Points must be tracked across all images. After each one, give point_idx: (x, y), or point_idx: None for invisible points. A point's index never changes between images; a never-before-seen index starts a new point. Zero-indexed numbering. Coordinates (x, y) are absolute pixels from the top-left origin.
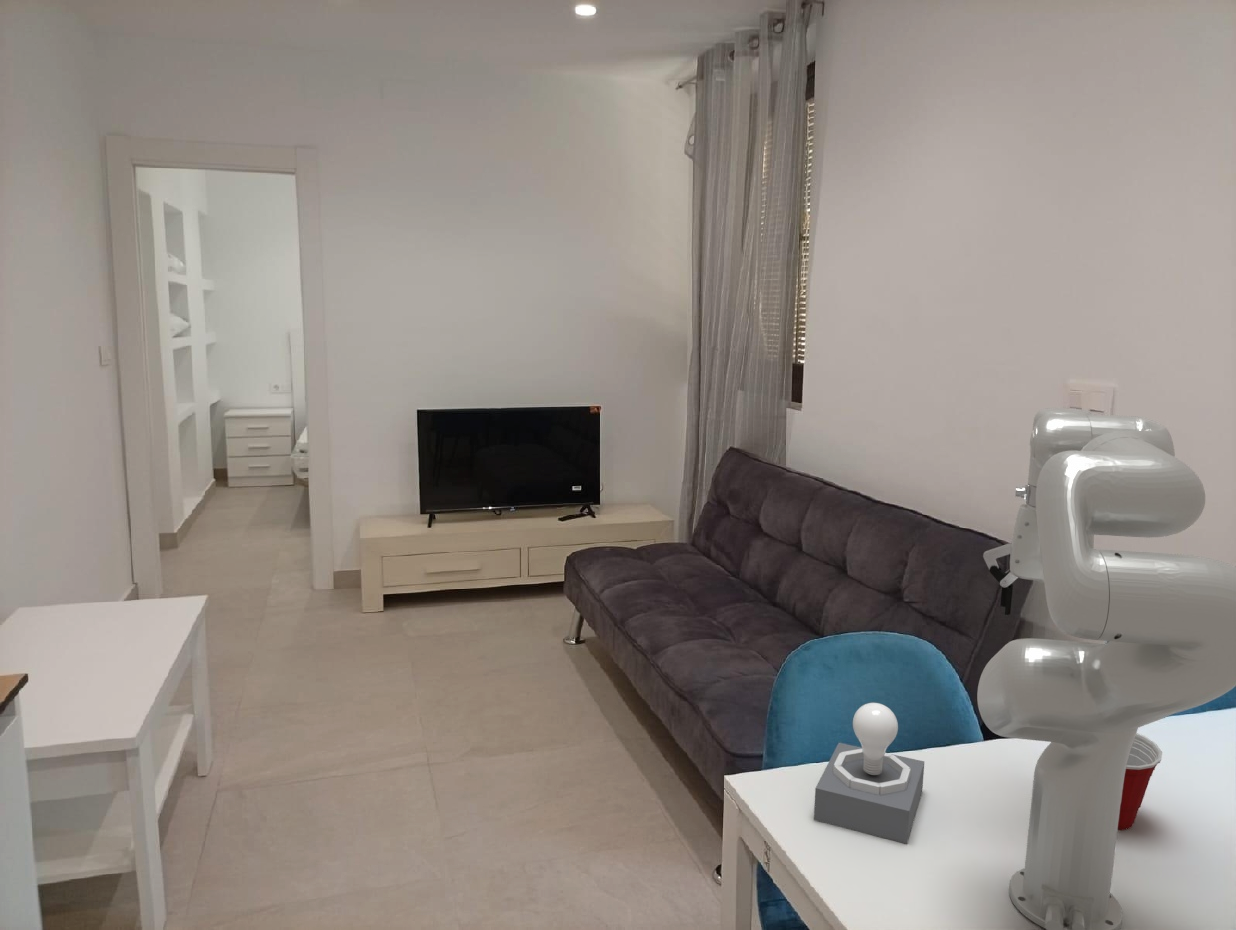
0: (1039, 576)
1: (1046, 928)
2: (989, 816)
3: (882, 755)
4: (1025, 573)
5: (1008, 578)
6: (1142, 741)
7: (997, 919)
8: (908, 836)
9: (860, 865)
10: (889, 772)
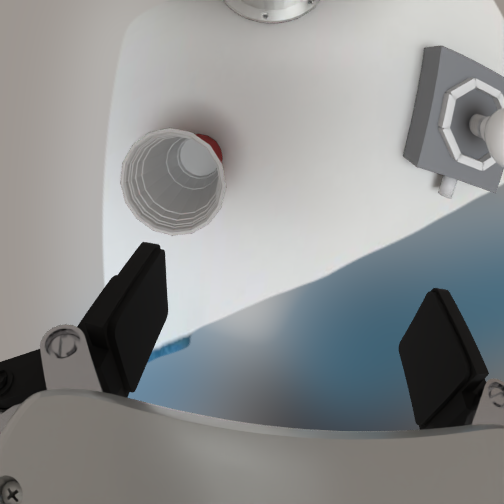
0: (408, 461)
1: None
2: (334, 118)
3: (484, 119)
4: (492, 454)
5: (495, 420)
6: (141, 213)
7: None
8: (424, 55)
9: (460, 12)
10: (457, 131)
